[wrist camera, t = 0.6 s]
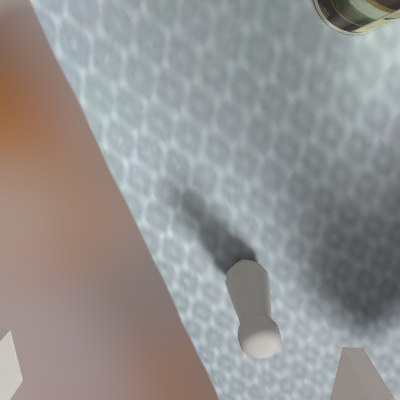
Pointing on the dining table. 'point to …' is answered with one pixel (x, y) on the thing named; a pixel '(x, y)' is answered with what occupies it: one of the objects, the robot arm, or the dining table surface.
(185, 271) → the dining table surface
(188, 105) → the dining table surface
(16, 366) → the robot arm
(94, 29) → the dining table surface
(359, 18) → the coffee can
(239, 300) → the salt shaker
